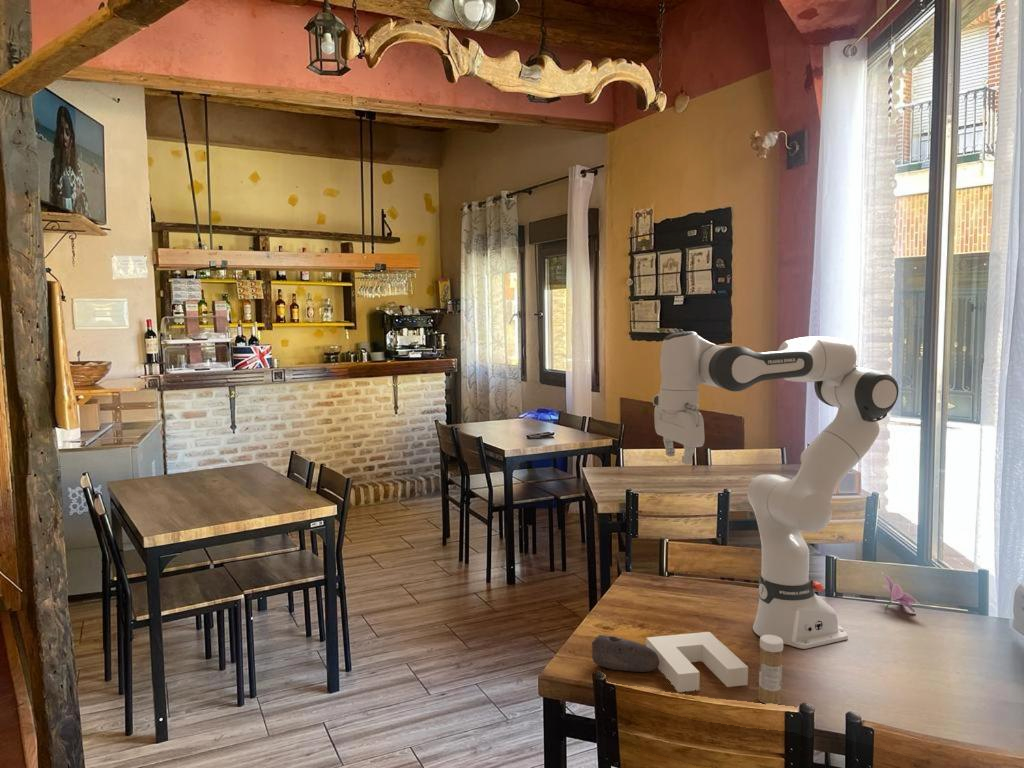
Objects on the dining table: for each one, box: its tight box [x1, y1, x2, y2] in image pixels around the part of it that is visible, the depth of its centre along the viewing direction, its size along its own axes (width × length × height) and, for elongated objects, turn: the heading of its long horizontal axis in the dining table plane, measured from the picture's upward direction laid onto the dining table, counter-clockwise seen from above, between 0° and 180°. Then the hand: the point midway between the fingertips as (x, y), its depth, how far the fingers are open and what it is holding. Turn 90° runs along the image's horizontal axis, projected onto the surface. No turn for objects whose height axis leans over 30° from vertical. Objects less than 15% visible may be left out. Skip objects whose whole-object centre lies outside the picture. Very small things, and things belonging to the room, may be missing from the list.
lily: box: [880, 571, 920, 613], centre depth 195 cm, size 12×12×10 cm
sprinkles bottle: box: [757, 635, 784, 705], centre depth 148 cm, size 5×5×14 cm
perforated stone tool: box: [590, 634, 659, 673], centre depth 162 cm, size 15×5×7 cm, turn 71°
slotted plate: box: [645, 631, 749, 693], centre depth 163 cm, size 16×18×4 cm
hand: (678, 459), depth 169 cm, fingers open, 8 cm apart
